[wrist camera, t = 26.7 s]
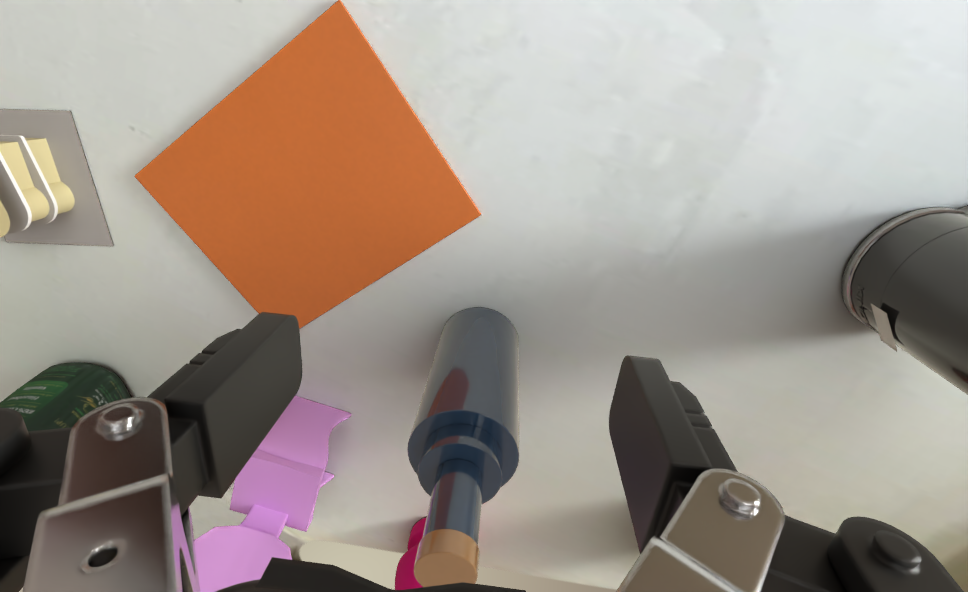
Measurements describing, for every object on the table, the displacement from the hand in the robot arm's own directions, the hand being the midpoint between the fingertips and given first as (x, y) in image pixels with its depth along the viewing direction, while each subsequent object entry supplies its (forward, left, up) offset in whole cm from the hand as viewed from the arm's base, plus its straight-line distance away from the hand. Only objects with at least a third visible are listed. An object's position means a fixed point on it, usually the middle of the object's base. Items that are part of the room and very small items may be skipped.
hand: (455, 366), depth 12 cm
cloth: (+12, -7, -24) cm, 28 cm away
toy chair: (+27, +10, -24) cm, 38 cm away
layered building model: (+29, -19, -24) cm, 42 cm away
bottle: (+8, +10, -24) cm, 27 cm away
